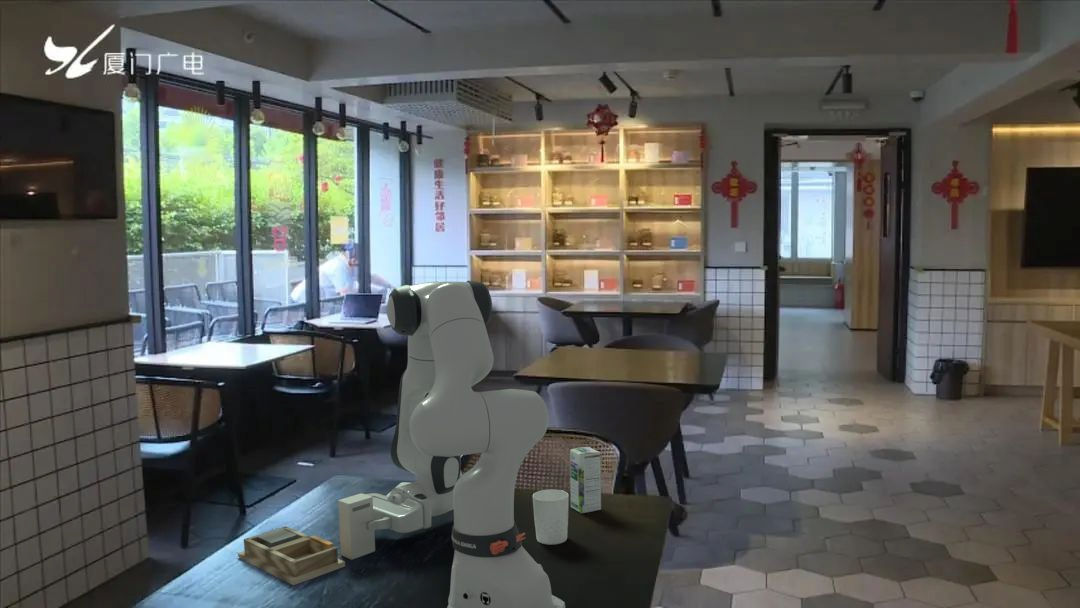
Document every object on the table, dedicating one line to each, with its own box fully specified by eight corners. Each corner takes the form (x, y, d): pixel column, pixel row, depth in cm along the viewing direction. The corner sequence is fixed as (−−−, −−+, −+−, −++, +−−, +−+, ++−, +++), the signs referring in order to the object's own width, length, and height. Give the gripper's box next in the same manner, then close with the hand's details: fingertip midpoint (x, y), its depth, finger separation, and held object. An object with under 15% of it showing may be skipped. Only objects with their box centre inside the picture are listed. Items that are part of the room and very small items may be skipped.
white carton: (375, 551, 186) (372, 496, 185) (351, 559, 181) (349, 504, 180) (364, 546, 189) (361, 493, 187) (340, 554, 184) (337, 500, 183)
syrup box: (569, 507, 210) (568, 449, 209) (591, 503, 213) (589, 445, 211) (580, 514, 205) (579, 454, 204) (602, 510, 208) (601, 451, 206)
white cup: (527, 542, 188) (526, 498, 187) (544, 530, 195) (542, 487, 194) (559, 548, 184) (558, 502, 183) (575, 535, 191) (574, 491, 190)
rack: (345, 566, 178) (344, 544, 177) (293, 585, 169) (291, 562, 169) (288, 541, 193) (287, 521, 192) (238, 557, 184) (236, 536, 184)
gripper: (377, 482, 201) (326, 497, 191) (434, 500, 187) (382, 517, 177) (379, 509, 201) (328, 525, 191) (435, 528, 187) (383, 547, 177)
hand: (354, 522), depth 184 cm, fingers open, 8 cm apart
